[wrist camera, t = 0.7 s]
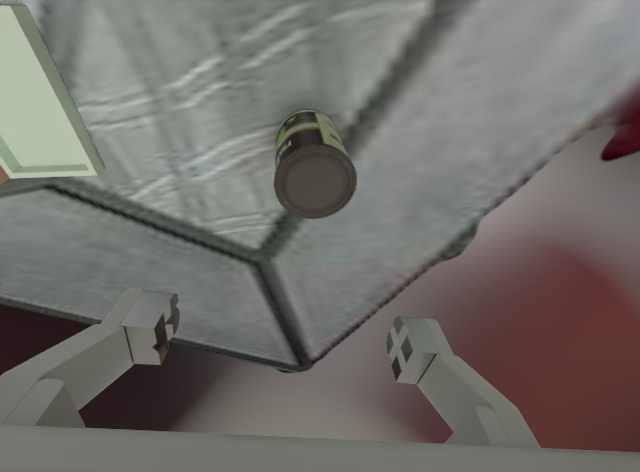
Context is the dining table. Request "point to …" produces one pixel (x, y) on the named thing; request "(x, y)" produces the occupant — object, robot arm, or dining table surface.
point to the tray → (37, 107)
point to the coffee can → (312, 166)
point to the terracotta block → (3, 175)
